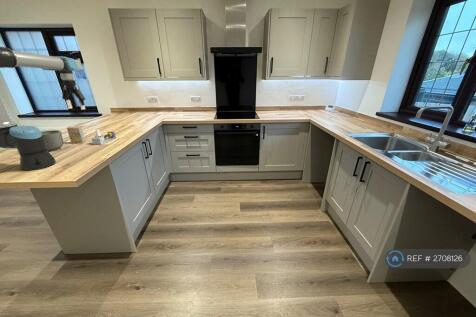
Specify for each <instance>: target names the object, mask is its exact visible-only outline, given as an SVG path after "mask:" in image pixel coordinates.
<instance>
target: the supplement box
mask: <svg viewBox="0 0 476 317" xmlns="http://www.w3.org/2000/svg"><path fill="white" fill-rule="evenodd" d="M66 130H67V134H68V136H69V139H70V142H71V144H83V143H85V142H86V140H85V136H84V133H83V129H82V126H68V127H67V128H66Z"/></svg>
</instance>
